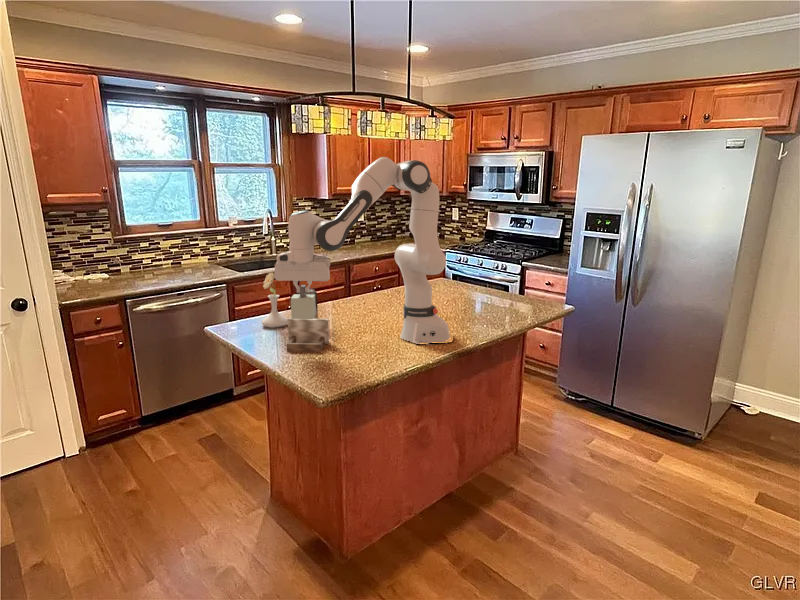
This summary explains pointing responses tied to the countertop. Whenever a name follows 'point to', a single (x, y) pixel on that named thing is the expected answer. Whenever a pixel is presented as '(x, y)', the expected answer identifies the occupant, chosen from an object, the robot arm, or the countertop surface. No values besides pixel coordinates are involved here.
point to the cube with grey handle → (303, 305)
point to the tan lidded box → (307, 334)
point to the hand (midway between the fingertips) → (302, 292)
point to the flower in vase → (273, 306)
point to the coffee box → (313, 292)
